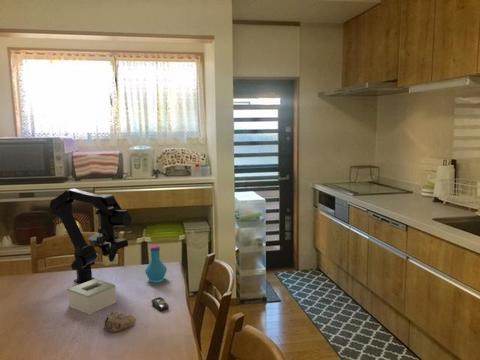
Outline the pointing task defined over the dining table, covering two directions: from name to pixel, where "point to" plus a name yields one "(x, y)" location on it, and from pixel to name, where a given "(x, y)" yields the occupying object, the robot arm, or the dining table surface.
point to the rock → (118, 322)
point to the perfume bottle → (155, 266)
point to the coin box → (92, 296)
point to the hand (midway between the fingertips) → (109, 260)
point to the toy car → (160, 303)
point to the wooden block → (108, 259)
